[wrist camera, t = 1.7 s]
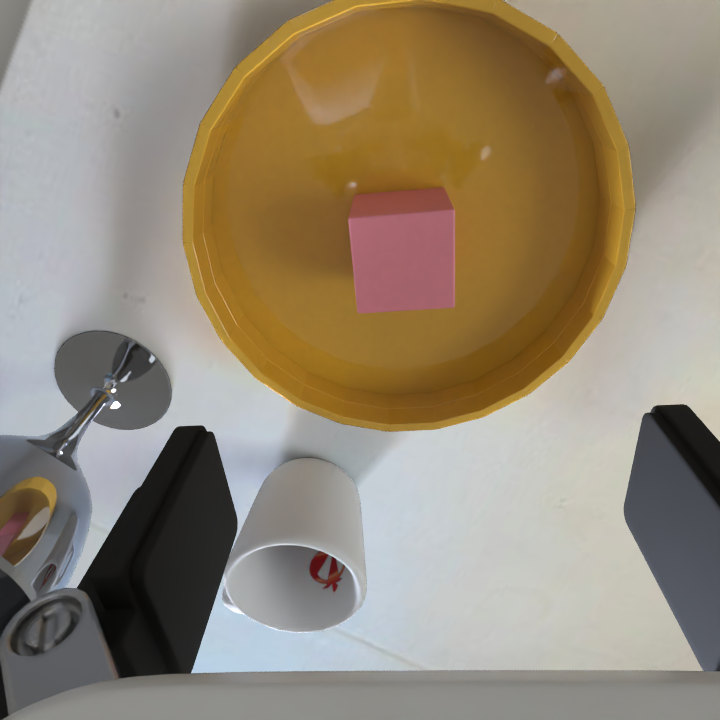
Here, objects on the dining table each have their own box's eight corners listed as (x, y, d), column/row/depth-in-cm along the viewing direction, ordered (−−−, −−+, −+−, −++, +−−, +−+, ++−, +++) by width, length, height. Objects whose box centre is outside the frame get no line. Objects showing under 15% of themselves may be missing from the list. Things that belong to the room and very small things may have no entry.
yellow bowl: (247, 403, 33) (233, 438, 30) (158, 22, 23) (123, 16, 20) (579, 387, 31) (600, 422, 28) (637, -31, 21) (679, -47, 18)
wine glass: (30, 392, 33) (-204, 610, 20) (75, 298, 30) (-171, 487, 17) (146, 453, 35) (3, 687, 22) (200, 372, 32) (70, 591, 19)
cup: (286, 561, 40) (265, 668, 33) (204, 502, 37) (162, 605, 30) (394, 492, 36) (396, 596, 29) (311, 420, 33) (291, 517, 26)
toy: (361, 279, 28) (357, 314, 24) (353, 194, 26) (347, 217, 22) (445, 273, 27) (455, 308, 24) (444, 186, 25) (455, 209, 21)
